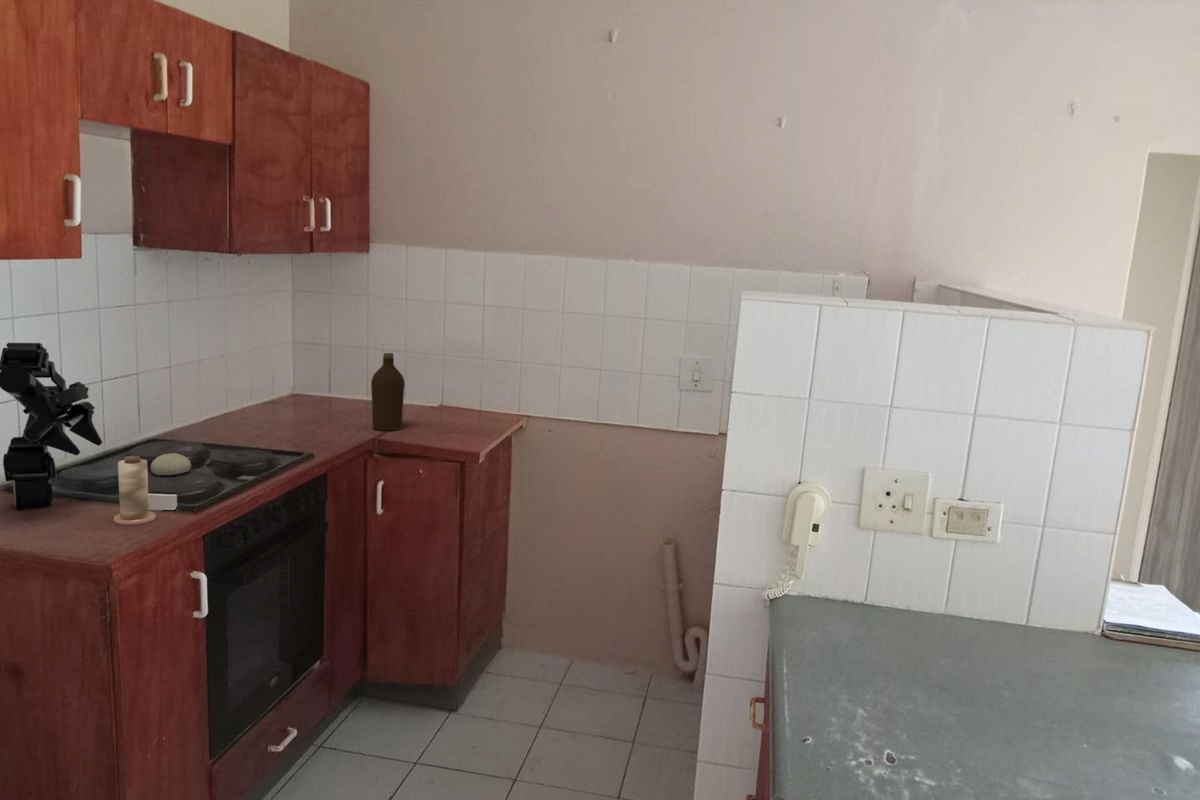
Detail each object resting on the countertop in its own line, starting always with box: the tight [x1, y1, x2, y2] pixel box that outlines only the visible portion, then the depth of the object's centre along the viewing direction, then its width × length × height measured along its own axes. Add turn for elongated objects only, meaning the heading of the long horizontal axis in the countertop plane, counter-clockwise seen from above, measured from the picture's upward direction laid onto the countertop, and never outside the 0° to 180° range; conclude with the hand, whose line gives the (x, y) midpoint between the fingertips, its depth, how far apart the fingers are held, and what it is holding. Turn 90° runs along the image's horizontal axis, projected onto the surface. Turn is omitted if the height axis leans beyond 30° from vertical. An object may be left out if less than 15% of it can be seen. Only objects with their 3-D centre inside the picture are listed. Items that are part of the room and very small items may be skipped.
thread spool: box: [117, 455, 150, 520], centre depth 187 cm, size 6×6×13 cm
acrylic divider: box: [148, 493, 178, 511], centre depth 195 cm, size 10×1×4 cm, turn 93°
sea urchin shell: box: [150, 453, 192, 476], centre depth 224 cm, size 9×8×8 cm
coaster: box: [113, 510, 157, 526], centre depth 188 cm, size 8×8×1 cm
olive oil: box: [370, 352, 405, 431], centre depth 288 cm, size 11×11×25 cm
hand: (89, 448), depth 191 cm, fingers open, 9 cm apart
